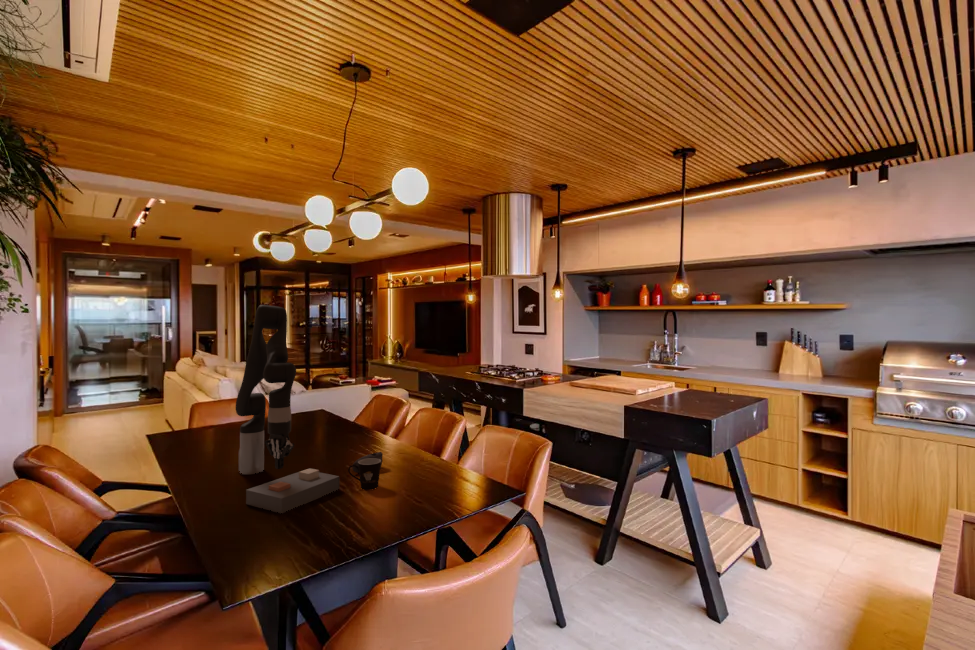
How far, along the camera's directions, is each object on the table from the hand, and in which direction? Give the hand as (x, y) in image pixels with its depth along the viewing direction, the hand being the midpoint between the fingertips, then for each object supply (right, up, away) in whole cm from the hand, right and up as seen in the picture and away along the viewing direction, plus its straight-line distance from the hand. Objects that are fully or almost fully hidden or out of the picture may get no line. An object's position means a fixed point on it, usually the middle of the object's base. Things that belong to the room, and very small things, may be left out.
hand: (279, 468), depth 166 cm
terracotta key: (0, -10, 0) cm, 10 cm away
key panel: (+3, -12, +6) cm, 14 cm away
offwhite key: (+6, -9, +12) cm, 16 cm away
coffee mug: (+26, -12, +16) cm, 33 cm away
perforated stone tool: (+22, -12, +36) cm, 44 cm away
